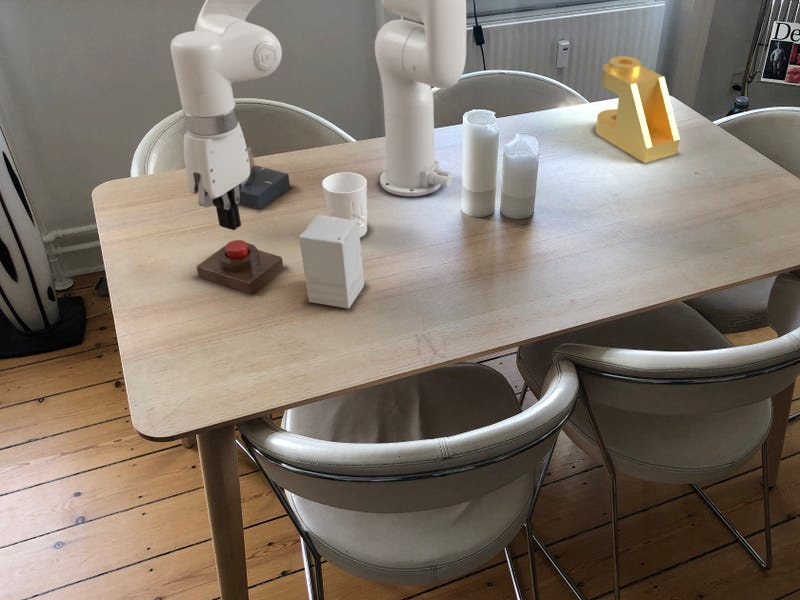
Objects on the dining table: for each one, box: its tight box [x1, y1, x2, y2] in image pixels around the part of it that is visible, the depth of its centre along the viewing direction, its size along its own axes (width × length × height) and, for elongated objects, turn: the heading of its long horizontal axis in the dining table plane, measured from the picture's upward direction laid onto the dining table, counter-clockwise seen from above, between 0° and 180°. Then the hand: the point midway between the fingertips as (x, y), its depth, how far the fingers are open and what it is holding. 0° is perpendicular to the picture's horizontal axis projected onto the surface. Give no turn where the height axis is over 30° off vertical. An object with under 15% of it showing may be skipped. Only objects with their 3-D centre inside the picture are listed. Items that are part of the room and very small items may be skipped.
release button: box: [224, 239, 249, 259], centre depth 140 cm, size 4×4×2 cm
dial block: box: [219, 164, 291, 210], centre depth 164 cm, size 11×10×3 cm
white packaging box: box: [298, 214, 365, 310], centre depth 134 cm, size 7×7×13 cm
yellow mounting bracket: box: [595, 55, 681, 164], centre depth 181 cm, size 20×9×16 cm, turn 31°
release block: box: [196, 242, 284, 295], centre depth 142 cm, size 11×9×4 cm
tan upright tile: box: [244, 147, 256, 185], centre depth 161 cm, size 6×1×5 cm, turn 4°
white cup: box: [321, 171, 368, 238], centre depth 151 cm, size 8×8×10 cm
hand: (230, 226), depth 137 cm, fingers closed
